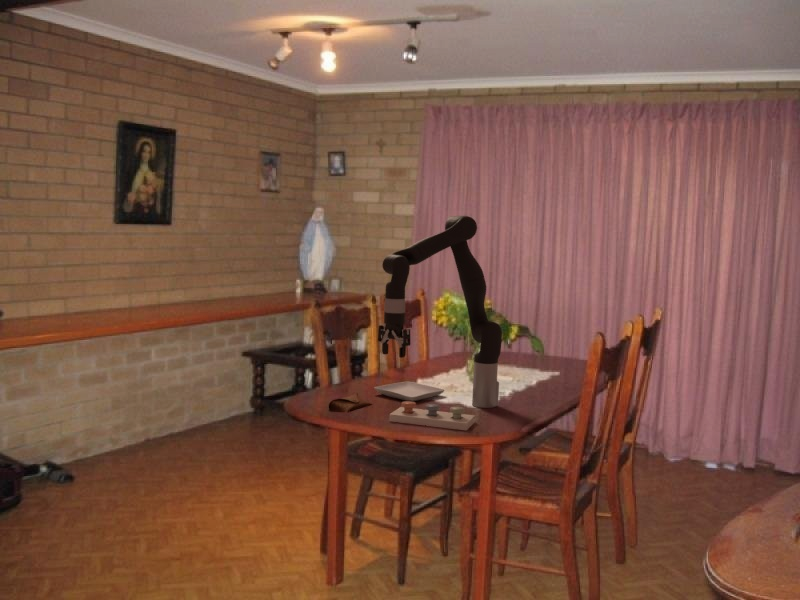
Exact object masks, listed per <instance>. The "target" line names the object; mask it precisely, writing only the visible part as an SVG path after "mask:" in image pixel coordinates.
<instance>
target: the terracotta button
mask: <svg viewBox="0 0 800 600" xmlns="http://www.w3.org/2000/svg"><path fill="white" fill-rule="evenodd" d="M400 407H404V413H408V414H413V408H414V409H416V408H417V403H416V401H406V400H404V401H402V402H401V406H400Z"/></svg>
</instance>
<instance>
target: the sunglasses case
mask: <svg viewBox="0 0 800 600" xmlns="http://www.w3.org/2000/svg"><path fill="white" fill-rule="evenodd" d="M328 403H329V404H328V409H329V411H333V412H334V411H335V412H341V413H345V414H347V413H349V411H350V412H351V411H354V410H357V409H361V408H364V407H367V406H371V405H373V403H372V402H370V401H368V400H367V399H365V398H364V397H362V396H360V395H359V393H355V394H352V395H348V396H344V397H340V398H335V399H332V400H331V401H330V402H328Z"/></svg>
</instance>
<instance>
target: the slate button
mask: <svg viewBox="0 0 800 600" xmlns="http://www.w3.org/2000/svg"><path fill="white" fill-rule="evenodd" d="M424 407H425V408H424V410H428V416H434V417H437V411H440V410H441V405H440V404H437V403H429V404H425V406H424Z"/></svg>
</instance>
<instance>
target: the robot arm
mask: <svg viewBox="0 0 800 600" xmlns="http://www.w3.org/2000/svg"><path fill="white" fill-rule="evenodd" d="M477 230H478V224H477V222H476V221H475V219H474V218H473V217H470V216H468V215H452V216H450V217H448V219H446V222H445V224H444V231H441V232H439V233H436V234H433V235H431V236H428V237H425V238H423V239H420V240H418V241H416V242H414V243H413V244H411V245H409V246H408V247H406V248H402V249H400V250H397V251H394V252H392V253H389V254H388V255H387V256H386V257H384V258H383V260H382V268H383V271H384V272H385V273H387V274H389V275H391V278H390V281H388V282H387V283H386V284H385V297H384V298H385V300H384V303H383V304H384V306H383V307H384V309H383V310H384V311H383V314H384V315H383V324H380V325H379V326H378V332H377V333H378V335H377V342H380V343H381V353H382V354H383V355H388V354H389V342H390V340H394V341H396V342H397V343H398V346H399V349H398V350H399V353H398V354H399V355H398V357H399V358H401V359H402V358H405V357H406V353H407V351H406V350H407V347H408V346H409V347H410V346H411V344H412V343H411V329H410V328H404V325H405V323H406V286H407V283H408V278H409V275H410V269H411V268H410V266H416V265H418V264H421V263H422V262H424V261H427V260H428V259H429V258H431V257H432V256H435V255H436V254H438V253H439V252H442V251H443V250H446V249H448V248H450V249H451V252H452V255H453V258H454V263H455V266H456V270H457V273H458V278H459V283H460V285H461V290H462V292H463V297H464V300H465V304H466V309H467V312H468V318H469V327H470V332H471V336H472V338H473V339H474V340H475V342H476V343H479V344H480V349H479V352H477V353H475V354H474V356H473V379H472V401H471V404H472V406H474V407H477V408H481V409H482V408H483V409H493V408H495V407H499V392H500V382H499V381H498V365H499V357H500V356H501V350H502V340H503V339H502V338H503V332H502V328H501V326H500V324H499V323H497V322H494V321H490V320H489V318H488V316H487V312H486V308H485V302H486V301H485V300H486V295H487V283H486V279H485V276H484V271H483V269H482V267H481V265H480V264H479V262H478V260H477V259H476V258H475V257H474V255H473V254H472V252H471V249H470V248H469V244H468V241H469V240H471V239H472V238H473V237H475V235H476V233H477V232H478V231H477Z"/></svg>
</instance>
